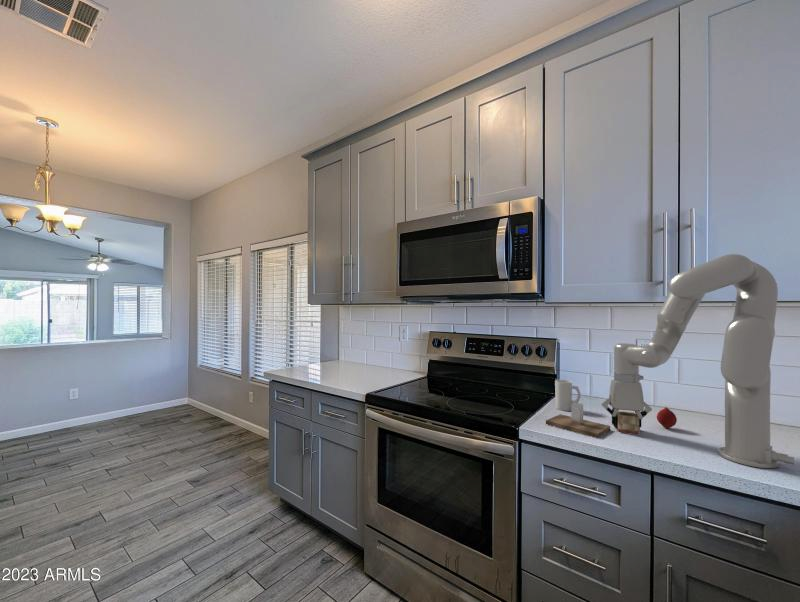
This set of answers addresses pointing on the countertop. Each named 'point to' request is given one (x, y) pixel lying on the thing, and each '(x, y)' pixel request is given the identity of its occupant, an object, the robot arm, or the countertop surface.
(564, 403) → the mug
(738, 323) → the robot arm
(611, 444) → the countertop surface
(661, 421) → the onion
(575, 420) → the steel pin
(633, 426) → the sleeve
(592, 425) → the pin board
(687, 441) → the countertop surface
